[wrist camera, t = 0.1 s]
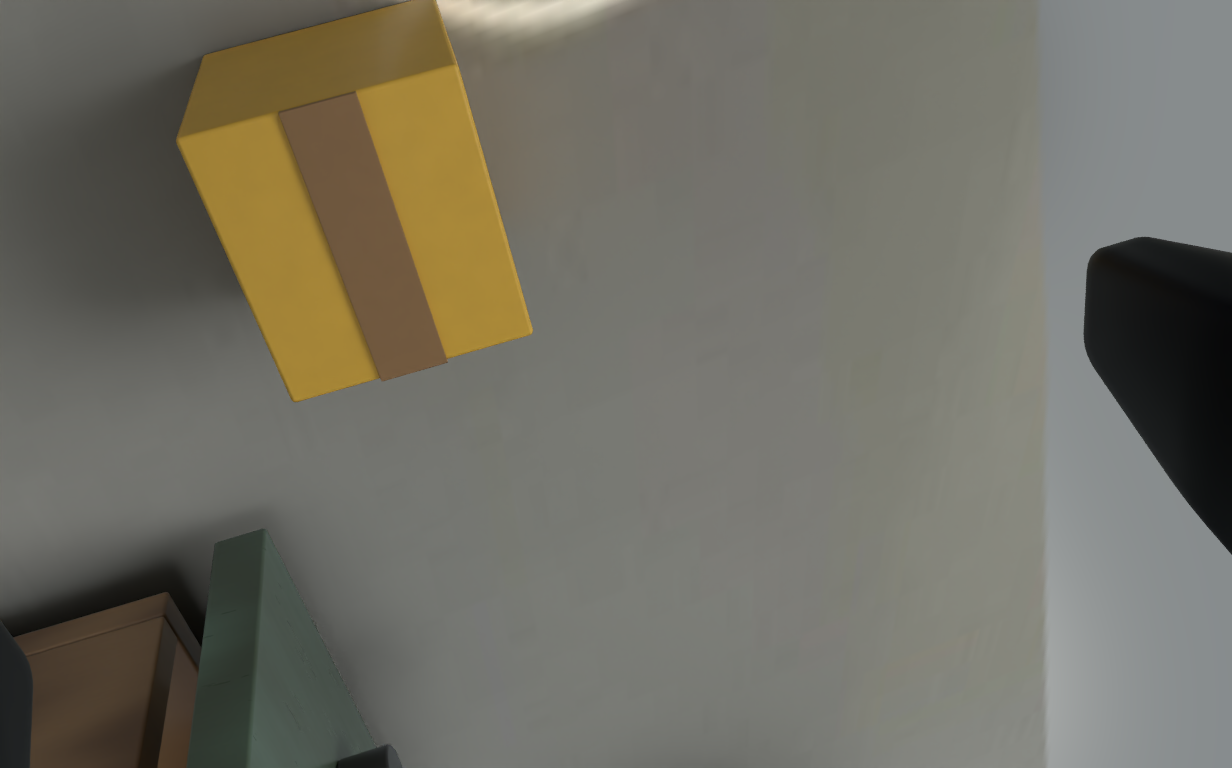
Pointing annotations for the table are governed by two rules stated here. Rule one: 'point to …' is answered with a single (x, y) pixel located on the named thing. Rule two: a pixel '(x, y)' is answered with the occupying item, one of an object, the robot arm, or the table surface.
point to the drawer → (198, 681)
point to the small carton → (354, 198)
